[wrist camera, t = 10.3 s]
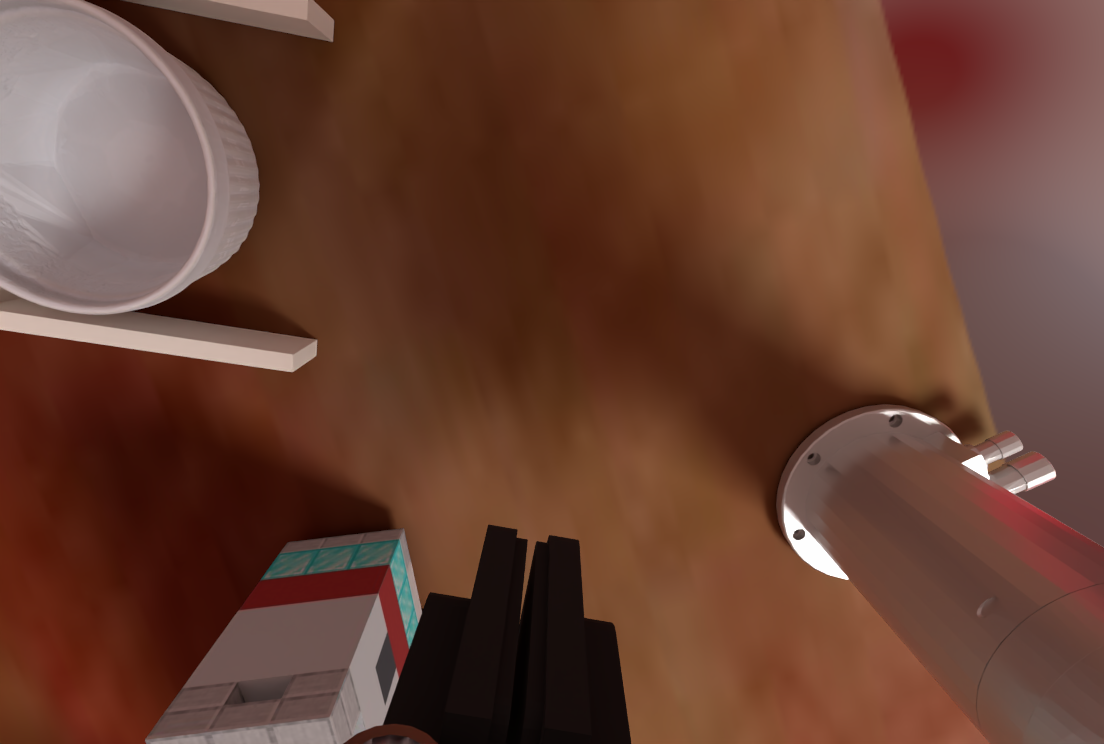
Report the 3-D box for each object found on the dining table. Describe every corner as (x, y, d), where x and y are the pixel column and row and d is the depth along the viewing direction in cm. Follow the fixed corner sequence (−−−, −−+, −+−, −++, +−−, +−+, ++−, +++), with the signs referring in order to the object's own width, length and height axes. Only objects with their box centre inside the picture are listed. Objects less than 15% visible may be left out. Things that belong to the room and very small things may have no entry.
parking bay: (334, 20, 28) (308, -5, 25) (316, 355, 33) (292, 372, 30) (-22, -51, 27) (-100, -88, 24) (15, 310, 32) (-46, 322, 29)
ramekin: (317, 263, 32) (262, 279, 25) (100, 318, 32) (-11, 346, 26) (226, 6, 28) (132, -55, 21) (-19, 71, 28) (-186, 30, 22)
